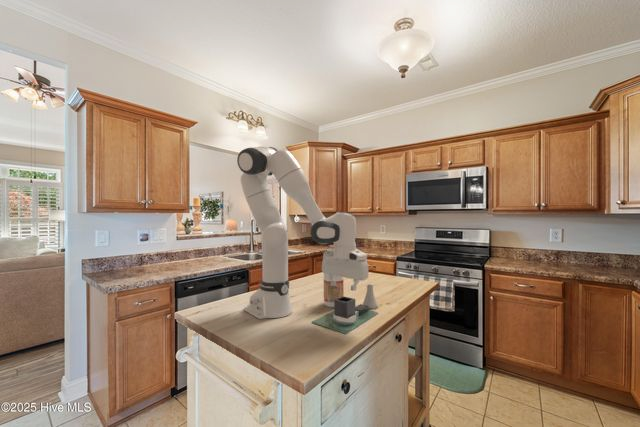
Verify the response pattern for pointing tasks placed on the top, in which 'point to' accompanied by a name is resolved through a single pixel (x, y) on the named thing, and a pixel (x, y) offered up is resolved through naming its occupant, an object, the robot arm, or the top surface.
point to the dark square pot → (344, 307)
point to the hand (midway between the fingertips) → (343, 287)
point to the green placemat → (346, 320)
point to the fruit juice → (332, 287)
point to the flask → (370, 298)
